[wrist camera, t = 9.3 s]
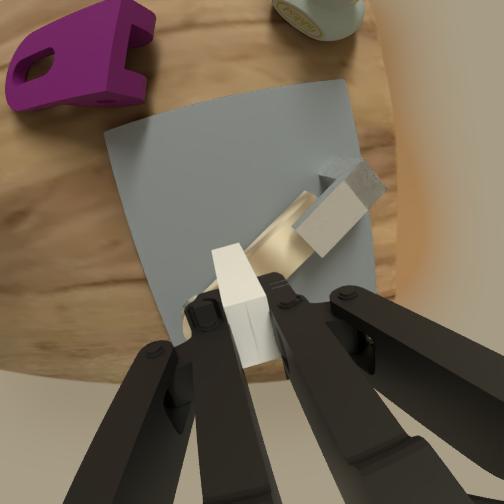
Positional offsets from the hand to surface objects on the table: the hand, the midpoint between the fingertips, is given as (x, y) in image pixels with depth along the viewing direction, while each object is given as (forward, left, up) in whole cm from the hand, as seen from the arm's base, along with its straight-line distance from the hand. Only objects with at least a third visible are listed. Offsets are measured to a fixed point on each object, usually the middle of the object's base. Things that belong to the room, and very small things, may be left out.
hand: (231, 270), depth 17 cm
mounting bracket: (-11, +20, -20) cm, 31 cm away
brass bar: (+2, -7, -17) cm, 19 cm away
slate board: (+4, -3, -19) cm, 20 cm away
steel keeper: (+12, -2, -18) cm, 21 cm away
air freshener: (+17, +21, -20) cm, 34 cm away
